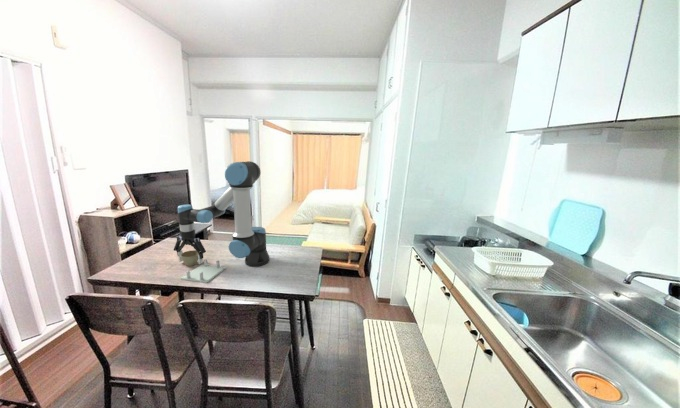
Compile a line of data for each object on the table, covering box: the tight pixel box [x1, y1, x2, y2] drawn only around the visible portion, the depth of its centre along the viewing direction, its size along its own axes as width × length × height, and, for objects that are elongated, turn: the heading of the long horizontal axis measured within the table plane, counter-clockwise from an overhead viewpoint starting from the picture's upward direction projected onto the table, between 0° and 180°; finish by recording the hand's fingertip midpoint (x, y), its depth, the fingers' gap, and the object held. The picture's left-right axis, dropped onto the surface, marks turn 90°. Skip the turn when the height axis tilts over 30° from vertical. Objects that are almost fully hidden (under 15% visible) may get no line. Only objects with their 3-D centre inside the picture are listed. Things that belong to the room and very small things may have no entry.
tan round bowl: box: [181, 249, 199, 267], centre depth 147 cm, size 10×10×7 cm
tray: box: [180, 259, 226, 284], centre depth 137 cm, size 16×16×5 cm
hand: (191, 262), depth 148 cm, fingers open, 13 cm apart
